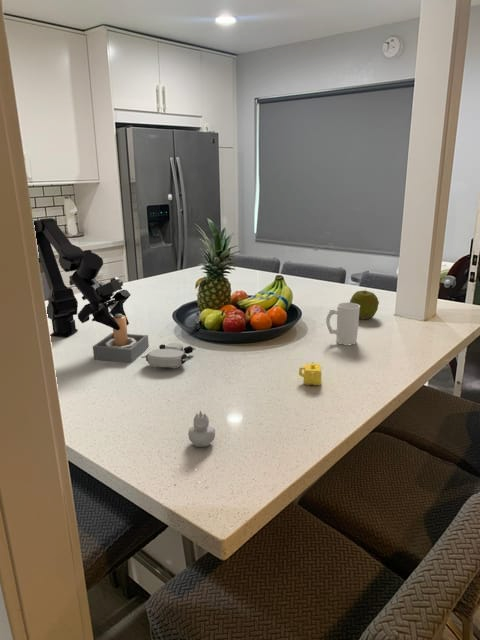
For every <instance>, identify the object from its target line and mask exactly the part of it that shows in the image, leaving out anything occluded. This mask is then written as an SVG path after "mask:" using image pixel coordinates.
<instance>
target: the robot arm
mask: <svg viewBox="0 0 480 640" xmlns="http://www.w3.org/2000/svg"><path fill="white" fill-rule="evenodd" d="M33 221H34V225H35V231H36V238H37V245H38V252H39V256H38V259H39V261H40V265H41V267H42V269H43V270H42V271H43V273H44V276H45V279H46V283H47V285H48V288H49V293H48V297H47V302H48V303H47V306H46V308H47V314H48V317H47V318H48V319H49V320H51V324H52V325H51V326H52V331H53V332H52V333H50V336H52V337H63V338H67V337H70V336H72V335H74V334H75V333H76V332H78V328H77V326H76V320H75V319H74V316H75V315H76V316H77V319H78V320H79V322H81V324H84V323H86V322H88V321H90V316H91V315H92V319H91V322H97V323H100V324H102V325H105V326H107V327H109V328H110V329H112V330H113V329H116V330H119V329H120V327H119V325H118V324H117V322H116V321H115V320H114V318H113V316H115V314H122V315H124V316H126V325H127V326H129V325H130V322H129V320H128V317H127V314H126V312H125V310H124V309H125V308H124V303H125V302H126V301H127V300H128V299H129V298H130V297H131V293H130V292H129V290H127V289H123V286H124V282H123V281H122V279H121V278H120V277H119V276H114V277H113V278H110V281H108V282H106V283H104V282H102V281H101V282H98V280H97V279H96V278H97V276H98V274H99V273H100V271H101V269H102V267H103V265H104V259H103V258H102V257H101V256H100V255H99V254H97V253H95V252H92V250H91V249H87V250H86V249H85V250H83V249H82V248H80V246H78V245H75V244H73V243H72V242H71V241H70V239H69V238H68V237H67V236H66V235H65V233H64V231H62V229H61V228H60V227H59V225H58V223H57V220H56V218H52V217H47V218H46V217H45V218H40V219H36V220H33ZM53 248H54V250H55V251H56V253H57V254H58V262H57V259H56V255H55V252H54V250H53ZM58 263H59V264H58ZM59 266H60V267H59ZM60 268H61V269H62V270H63V271H64V272H65V273H70V272H73V273H72V274H71V275H69V277H68V278H69V281H68V282H69V286H71V287H67V285H66V284H65V281H64V279H63V276H62V274H61V273H62V272H61V271H60ZM73 285H74V287H76V289H77V290H78V291H79V292H80V294H82V297H81V299H82V300H83V301H85V300H87V301H88V303H86V304H85V305H84V306H83V307H82V308H81V309H80V311H79V312H78V307H79V306H78V304H79V303H78V299H77V298H76V296H75V294H74V293H75V292H74V290H73V288H72V286H73ZM109 309H110V310H109Z"/></svg>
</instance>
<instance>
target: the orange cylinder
mask: <svg viewBox="0 0 480 640" xmlns="http://www.w3.org/2000/svg"><path fill="white" fill-rule="evenodd" d="M112 317H113V318H114V320H115V321H116V322H117V324H118V325H119V327H120V329H119V330H116V329H113V328H112V333H113V335H114V344H115V346H119V347H121V346H126V345H128V336H127V334H128V327H127V326H128V325H126V317H127V315H126V316H124V315H122V314H115V316H112Z"/></svg>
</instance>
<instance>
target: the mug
mask: <svg viewBox="0 0 480 640" xmlns="http://www.w3.org/2000/svg"><path fill="white" fill-rule="evenodd" d="M359 311H360V305H358V304H355V303H350V302H339V303H338V304H337V309H334V308H330V309H329V312H328V313H327V315H326V319H325V323H326V324H325V325H326V327H327V329H328V331H329V334H330V335H333V334H334V335H336V339H335V340H336V341H335V342H336V343H337V342H338V344H339V343H340V345H342V344H346V345H345V346H349V345H348V344H353V345H355V344H354V343H356V344H357V340H358V331H359V330H358V329H359V322H360V321H359V320H360V319H359ZM334 315H337V316H336V328H332V326H331V323H330V322H331V321H330V320H331V318H332V316H334Z"/></svg>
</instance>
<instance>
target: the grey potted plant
mask: <svg viewBox="0 0 480 640" xmlns="http://www.w3.org/2000/svg"><path fill="white" fill-rule="evenodd" d="M209 421H210V420H209V417H208V415H207V414H206V413H202V411H201V410H200V411H199V414H198V413H196V414H195V415H194V418H193V426H192V427H190V428H189V429H188V433H187V435H188V439H189V441H190V442H191V443H192V446H195V447H197V448H204V447H208V446H209V445H211V444H212V442H213V441H214V440H215V438H216V430H215V428H214V427H213V426H210V424H209V423H210V422H209Z"/></svg>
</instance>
